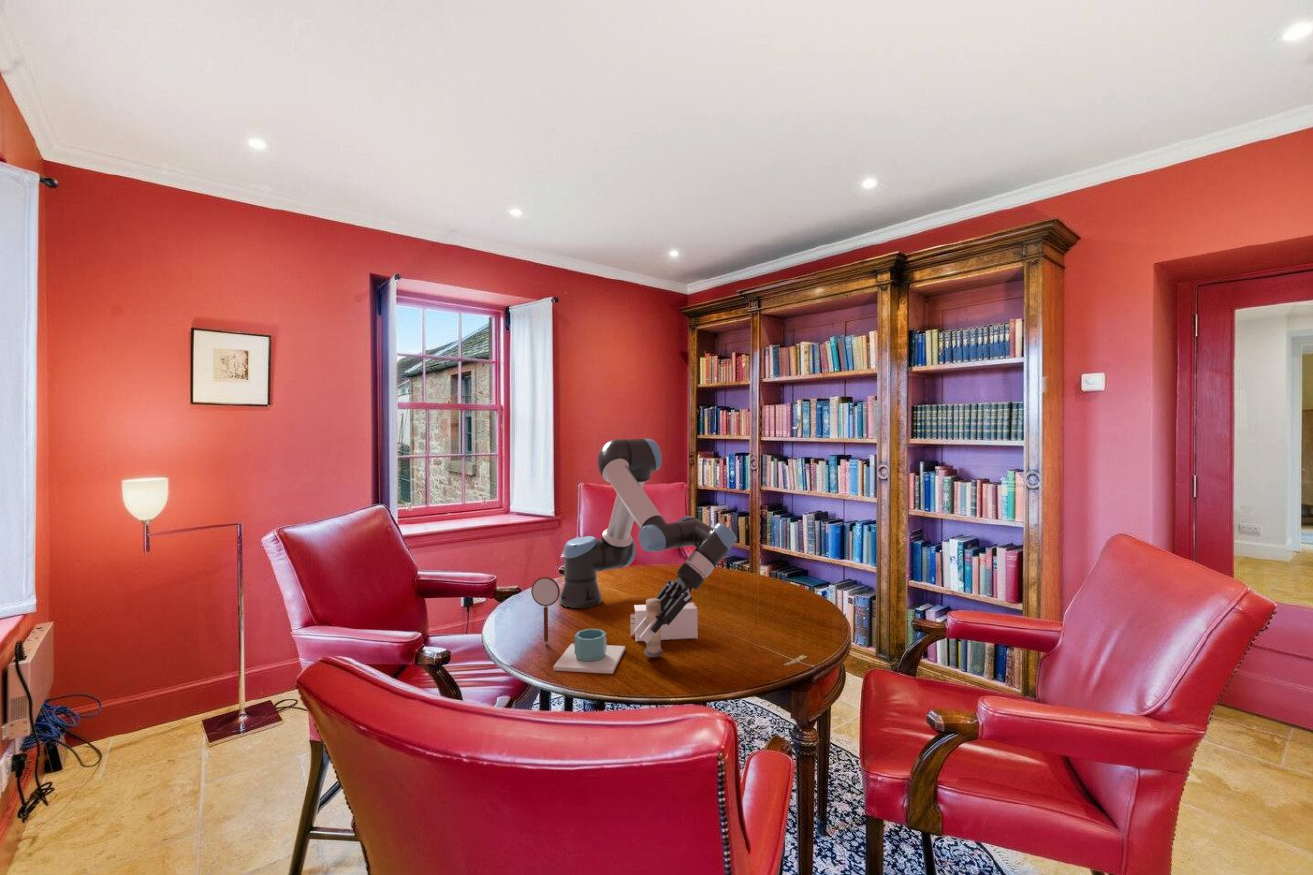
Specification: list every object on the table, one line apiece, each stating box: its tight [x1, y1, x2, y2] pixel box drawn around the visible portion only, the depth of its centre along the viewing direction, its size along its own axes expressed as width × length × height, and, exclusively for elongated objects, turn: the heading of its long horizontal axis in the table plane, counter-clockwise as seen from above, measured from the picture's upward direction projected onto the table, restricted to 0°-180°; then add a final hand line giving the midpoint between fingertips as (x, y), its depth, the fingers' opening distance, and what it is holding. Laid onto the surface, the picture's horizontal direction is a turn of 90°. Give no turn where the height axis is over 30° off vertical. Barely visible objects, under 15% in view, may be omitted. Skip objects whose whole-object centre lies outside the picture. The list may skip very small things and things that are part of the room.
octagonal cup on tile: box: [552, 628, 626, 675], centre depth 152 cm, size 16×16×7 cm
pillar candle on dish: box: [643, 597, 664, 658], centre depth 153 cm, size 5×5×15 cm
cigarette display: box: [629, 602, 699, 642], centre depth 169 cm, size 20×6×9 cm, turn 96°
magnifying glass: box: [531, 576, 561, 645], centre depth 164 cm, size 9×2×20 cm, turn 82°
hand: (640, 636), depth 151 cm, fingers closed on pillar candle on dish, 4 cm apart
